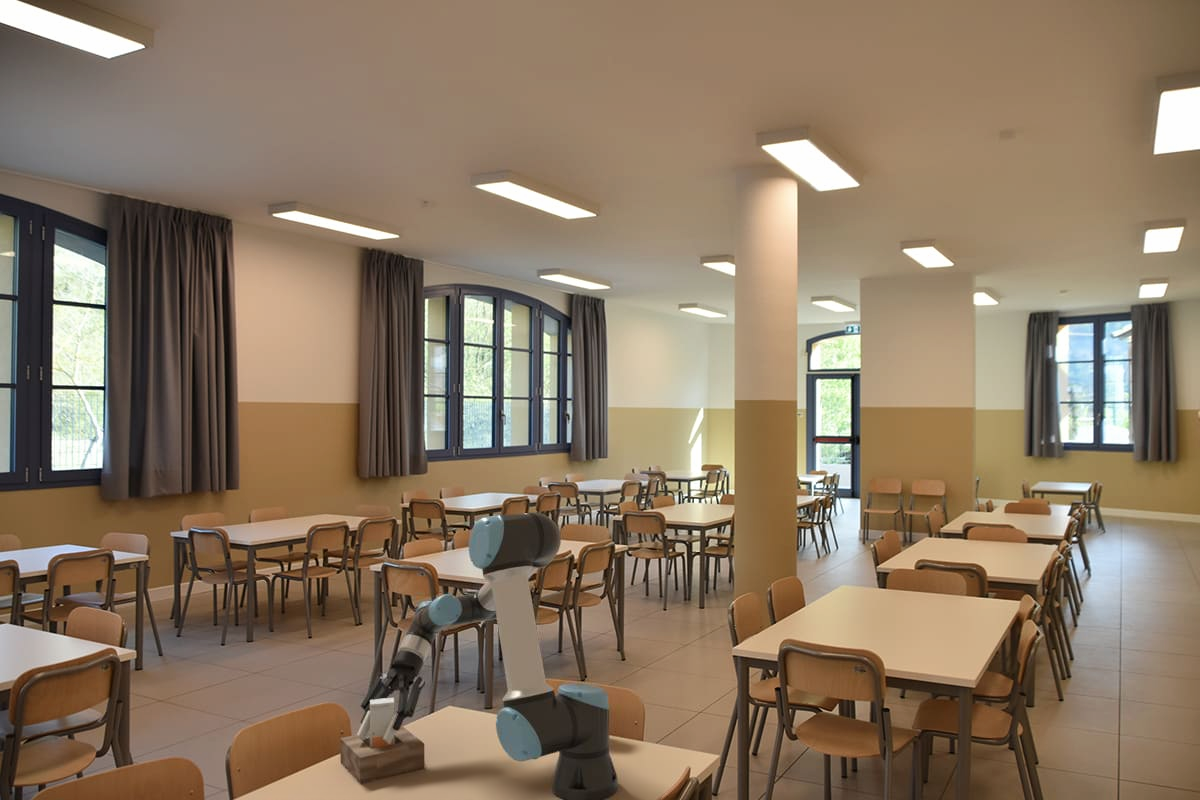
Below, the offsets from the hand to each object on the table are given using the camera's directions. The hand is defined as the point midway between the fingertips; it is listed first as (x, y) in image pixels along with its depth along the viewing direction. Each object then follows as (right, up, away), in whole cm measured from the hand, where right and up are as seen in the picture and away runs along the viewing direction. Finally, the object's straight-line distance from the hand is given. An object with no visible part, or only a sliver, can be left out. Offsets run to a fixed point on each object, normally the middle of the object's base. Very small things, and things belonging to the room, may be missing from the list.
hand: (373, 739), depth 209 cm
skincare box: (+1, -4, +3) cm, 5 cm away
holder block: (+1, -8, +3) cm, 8 cm away
